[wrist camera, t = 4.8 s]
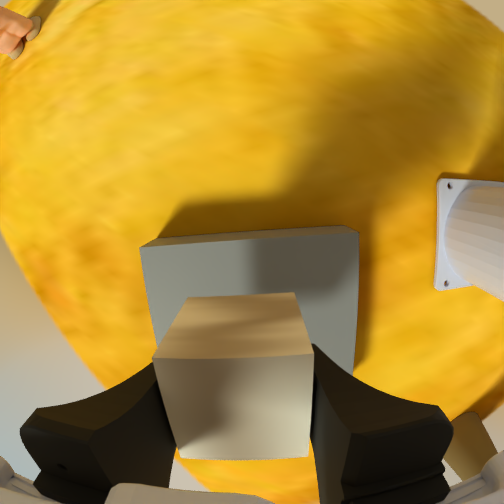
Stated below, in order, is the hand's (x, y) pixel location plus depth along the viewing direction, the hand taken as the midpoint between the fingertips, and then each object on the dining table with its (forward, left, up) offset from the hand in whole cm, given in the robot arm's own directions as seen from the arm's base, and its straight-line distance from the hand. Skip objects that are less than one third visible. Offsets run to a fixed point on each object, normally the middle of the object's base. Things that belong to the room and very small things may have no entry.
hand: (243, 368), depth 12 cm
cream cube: (0, 0, -2) cm, 2 cm away
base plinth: (0, +2, -8) cm, 9 cm away
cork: (-21, +19, -9) cm, 30 cm away
